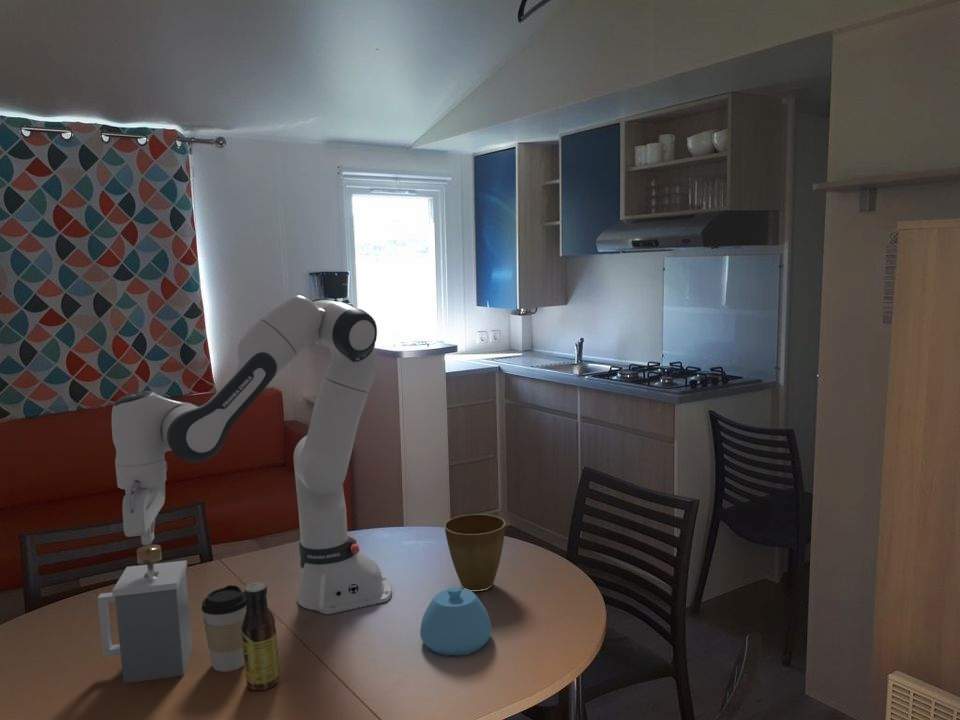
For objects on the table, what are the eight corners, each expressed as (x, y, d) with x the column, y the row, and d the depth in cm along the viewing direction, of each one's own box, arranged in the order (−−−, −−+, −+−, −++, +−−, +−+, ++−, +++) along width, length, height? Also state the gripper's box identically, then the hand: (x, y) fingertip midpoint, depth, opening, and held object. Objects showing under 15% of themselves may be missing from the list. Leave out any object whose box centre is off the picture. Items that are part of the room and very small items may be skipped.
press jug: (194, 646, 158) (186, 560, 155) (185, 675, 147) (176, 583, 144) (114, 657, 154) (105, 569, 152) (98, 688, 143) (88, 593, 141)
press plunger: (171, 643, 153) (162, 543, 150) (167, 653, 149) (158, 551, 146) (148, 646, 152) (139, 545, 149) (144, 657, 148) (134, 554, 145)
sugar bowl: (500, 628, 162) (499, 578, 160) (478, 664, 148) (476, 609, 146) (436, 620, 167) (435, 570, 165) (409, 653, 152) (406, 599, 151)
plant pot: (518, 580, 186) (516, 518, 184) (486, 604, 173) (484, 538, 171) (468, 569, 194) (466, 509, 192) (434, 591, 181) (432, 527, 179)
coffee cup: (239, 676, 146) (233, 603, 144) (197, 672, 148) (191, 601, 146) (261, 652, 154) (256, 584, 153) (221, 649, 156) (216, 581, 154)
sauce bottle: (250, 675, 146) (242, 579, 143) (282, 673, 146) (275, 577, 144) (242, 694, 139) (234, 594, 137) (276, 692, 140) (269, 591, 137)
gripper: (147, 488, 136) (154, 560, 138) (168, 460, 156) (174, 523, 158) (110, 491, 135) (118, 564, 137) (136, 463, 155) (142, 526, 157)
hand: (148, 542), depth 148 cm, fingers closed
